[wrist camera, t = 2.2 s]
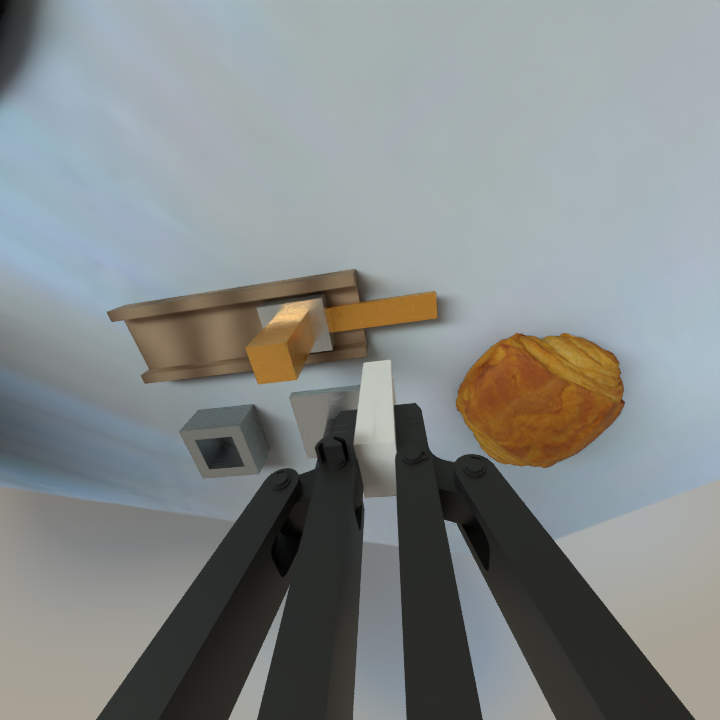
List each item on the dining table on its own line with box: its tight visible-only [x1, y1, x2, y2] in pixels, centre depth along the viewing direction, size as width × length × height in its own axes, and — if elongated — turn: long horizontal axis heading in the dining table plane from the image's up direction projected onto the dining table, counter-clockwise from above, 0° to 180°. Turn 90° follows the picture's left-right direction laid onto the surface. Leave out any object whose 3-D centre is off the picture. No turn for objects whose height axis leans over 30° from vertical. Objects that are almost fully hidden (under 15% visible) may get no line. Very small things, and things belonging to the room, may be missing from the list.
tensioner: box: [245, 291, 437, 384], centre depth 25 cm, size 16×5×9 cm, turn 99°
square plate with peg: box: [289, 385, 361, 469], centre depth 32 cm, size 9×9×10 cm
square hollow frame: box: [179, 404, 270, 478], centre depth 36 cm, size 7×7×4 cm
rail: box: [107, 269, 368, 384], centre depth 31 cm, size 24×8×2 cm, turn 99°
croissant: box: [456, 333, 625, 468], centre depth 31 cm, size 14×16×8 cm
